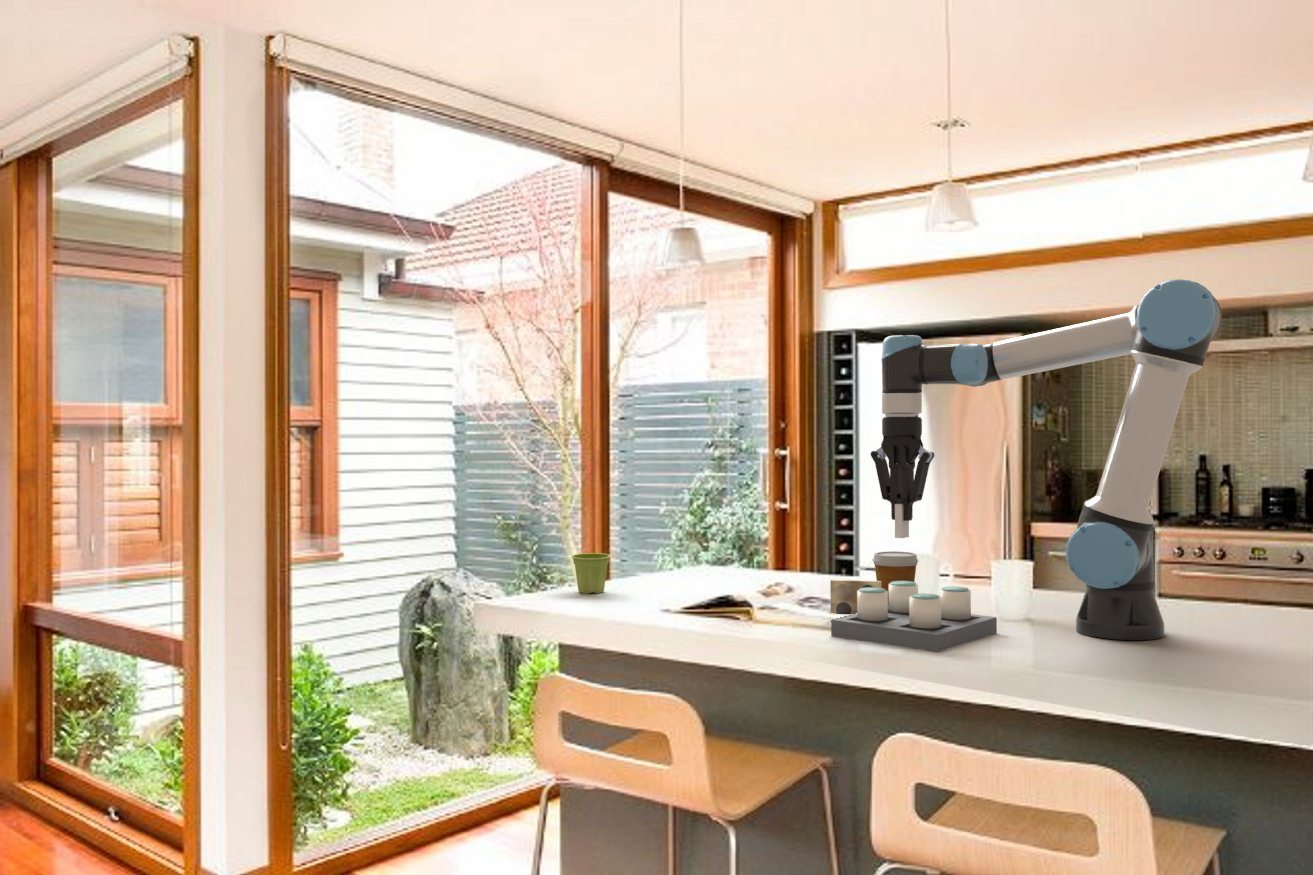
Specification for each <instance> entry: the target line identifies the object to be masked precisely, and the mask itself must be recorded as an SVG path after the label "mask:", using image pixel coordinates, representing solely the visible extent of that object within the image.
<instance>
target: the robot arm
mask: <svg viewBox="0 0 1313 875" xmlns="http://www.w3.org/2000/svg"><path fill="white" fill-rule="evenodd" d="M1222 322H1223V312H1222V308H1221V305H1220V304H1219V302H1218V300H1217V299H1216V297H1215V296H1214V295H1213V294H1212V292H1211V291H1210V290H1209V289H1208V288H1207V287H1205V286H1204V285H1202V284H1201V283H1199V282H1197V281H1191V279H1190V280H1189V279H1170V280H1166V281H1163V282H1161V283H1158V284H1157V285H1155V286H1153V287H1152V288H1151V289H1149V290H1148V291H1147V292H1146V293H1145V294H1144V296H1142V298H1141V301H1140V302H1139V304H1137V305H1134V306H1133V308H1132V309H1131V310H1130V311H1129V312H1127V313H1121V314H1117V315H1113V316H1109V317H1103V318H1100V319H1095V320H1091V321H1086V322H1082V323H1076V324H1072V325H1068V326H1067V325H1066V326H1063V327H1059V328H1054V329H1050V330H1049V329H1048V330H1046V331H1041V332H1036V333H1031V334H1027V335H1023V336H1018V337H1014V338H1007V339H1005V340H999V341H996V342H991V343H986V344H980V343H969V342H968V343H966V342H962V343H951V344H950V343H949V344H936V345H933V344H931V345H929V344H927V345H926V344H923V340H922V337H921V336H919V335H916V334H914V335H913V334H911V335H910V334H907V335H905V334H904V335H903V334H899V335H897V334H896V335H889V336H887V337H885V338H884V339H883V342H882V352H881V353H882V354H881V372H882V373H881V374H882V376H881V378H882V379H881V380H882V383H881V385H882V389H881V391H882V395H881V414H883V415H885V417H883V418H881V434H882V437H883V438H882V441H881V442H880V447H879V448H877V449H876V450H873V451H871V452H870V456H871V459H872V460H873V462H874V464H875V469H876V475H877V479H878V484H879V487H880V488H879V489H880V493H881V499H883V501H888V502H890V504H891V506H890V507H891V515H890V516H891V520H894V538H895V539H904V538H905V539H906V538H910V521H912V520H913V514H914V512H913V511H914V510H913V509H914V508H913V505H914V503H916V502H919V501H920V502H921V501H922V499H923V495H924V490H925V487H926V481H927V477H928V473H929V468H930V465H931V463H932V461H933V459H934V457H935V452H932V451H929V450H927V449H926V448H925V447H924V443H923V441H922V434H923V418H922V417H921V416H919V415H921V414H922V411H923V408H922V407H923V404H922V402H923V399H922V398H923V396H922V395H923V389H922V388H923V385H959V386H969V387H972V388H973V387H974V388H976V387H981V386H985V385H988V384H989V383H994V382H998V381H1002V380H1007V379H1012V378H1017V377H1022V376H1027V375H1028V376H1029V375H1031V374H1032V375H1033V374H1037V373H1043V372H1048V371H1052V370H1058V369H1063V368H1067V367H1072V366H1077V365H1082V364H1089V363H1093V362H1098V361H1103V360H1107V359H1113V358H1117V357H1122V356H1128V355H1131V356H1132V358H1133V360H1134V362H1135V365H1134V369H1133V372H1132V376H1131V379H1130V382H1129V385H1128V389H1127V391H1126V396H1125V398H1124V402H1123V405H1122V408H1121V412H1120V415H1119V419H1118V422H1117V426H1116V428H1115V432H1114V436H1113V439H1112V442H1111V445H1110V448H1109V451H1108V454H1107V457H1106V461H1105V465H1104V469H1103V471H1102V475H1101V478H1100V481H1099V484H1098V487H1097V491H1096V494H1095V496H1093V497H1091V498H1090V499H1087V500H1085V501H1084V502H1083V506H1082V508H1081V512H1080V515H1079V519H1078V522H1077V525H1076V529H1075V530H1074V531H1073V532H1072V533H1071V534H1070V537H1069V538H1068V540H1067V544H1066V549H1065V557H1066V562H1067V565H1068V566H1069V569H1070V570H1071V572H1072V573H1073V574H1074V576H1075V577H1076V578H1077V579H1078V580H1079V581H1080V582H1081V583H1084V584H1085V591H1084V595H1083V597H1082V601H1081V603H1080V607H1079V609H1078V612H1077V616H1076V619H1075V629H1076V632H1078V633H1080V634H1082V635H1086V636H1089V637H1096V638H1100V639H1101V638H1102V639H1108V640H1109V639H1110V640H1120V641H1121V640H1122V641H1123V640H1126V641H1145V640H1148V641H1150V640H1155V639H1161V638H1163V637H1164V636H1165V622H1164V619H1163V616H1162V613H1161V610H1160V607H1159V604H1158V602H1157V598H1156V596H1155V592H1154V591H1155V590H1154V587H1155V585H1154V584H1155V583H1154V580H1155V578H1154V577H1155V576H1154V575H1155V574H1154V573H1155V572H1154V566H1155V565H1154V561H1155V560H1154V558H1155V557H1154V532H1155V528H1156V527H1155V524H1154V522H1155V521H1154V517H1153V514H1152V513H1151V512H1150V511H1149V507H1150V502H1151V501H1152V497H1153V494H1154V490H1155V488H1156V484H1157V480H1158V477H1159V475H1160V470H1161V468H1162V464H1163V462H1164V458H1165V456H1166V451H1167V449H1168V446H1169V443H1170V438H1171V436H1172V432H1173V430H1174V426H1175V423H1176V420H1177V416H1178V412H1179V410H1180V406H1181V403H1182V401H1183V397H1184V394H1185V390H1186V387H1187V385H1188V381H1189V377H1190V376H1191V375H1193V374H1194V373H1196V372H1198V371H1200V370H1201V369H1203V366H1204V363H1205V360H1206V357H1207V354H1208V351H1209V347H1210V344H1211V343H1212V341H1214V340H1215V338H1216V337H1217V335H1219V332H1220V330H1221V327H1222ZM886 458H887V459H888V460H887V459H886ZM917 458H918V462H917V465H916V460H917ZM887 461H888V462H887ZM915 468H916V470H915ZM914 472H915V473H914Z"/></svg>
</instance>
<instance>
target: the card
mask: <svg viewBox="0 0 1313 875" xmlns="http://www.w3.org/2000/svg"><path fill="white" fill-rule="evenodd" d="M829 581H830V614H831V613H836V614H856V613H857V591H858V590H859V589H860V588H870V587H872V588H881V581H877V580H851V579H850V580H849V579H848V580H847V579H846V580H845V579H830V580H829Z"/></svg>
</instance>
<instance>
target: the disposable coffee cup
mask: <svg viewBox="0 0 1313 875" xmlns="http://www.w3.org/2000/svg"><path fill="white" fill-rule="evenodd" d="M871 560H872V562H873V564H874V572H875V578H876V581H881V588H883V589H885V590H886V591H888V606H889V583H891V582H893V581H911V582H916V581H915V579H916V571H917V570H916V569H917V565H918V562H919V559H918V557H917V554H916V553H915V552H910V551H897V550H896V551H877V552H874V554H873V558H872V559H871Z"/></svg>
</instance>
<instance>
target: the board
mask: <svg viewBox="0 0 1313 875" xmlns="http://www.w3.org/2000/svg"><path fill="white" fill-rule="evenodd" d="M997 621H998V619H997V617H996V616H990V615H982V614H974V613H971V618H969V619H962V620H955V619H945V618H941V622H942V626H941V627H938V628H917V627H912V626H910V625H909V613H899V612H892V611H889V606H888V619H887V620H882V621H868V620H861V619H858V618H857V614H853V615H849V616H844V617H840V618H836V619H832V620H831V619H830V624H831V625H830V632H831V633H830V635H831V637H837V638H842V639H843V638H845V639H848V640H849V639H850V640H857V641H864V642H870V643H877V644H881V645H889V646H896V647H902V648H908V649H909V648H910V649H915V650H920V651H921V650H922V651H927V652H934V653H940V652H943V651H946V650H950V649H952V648H956V647H958V646H962V645H965V644H968V643H972V642H974V641H977V640H980V639H983V638H987V637H990V636H993V635H995V634H997V632H998V631H997V630H998V629H997V628H998V627H997V625H998V624H997V623H998V622H997Z"/></svg>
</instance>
